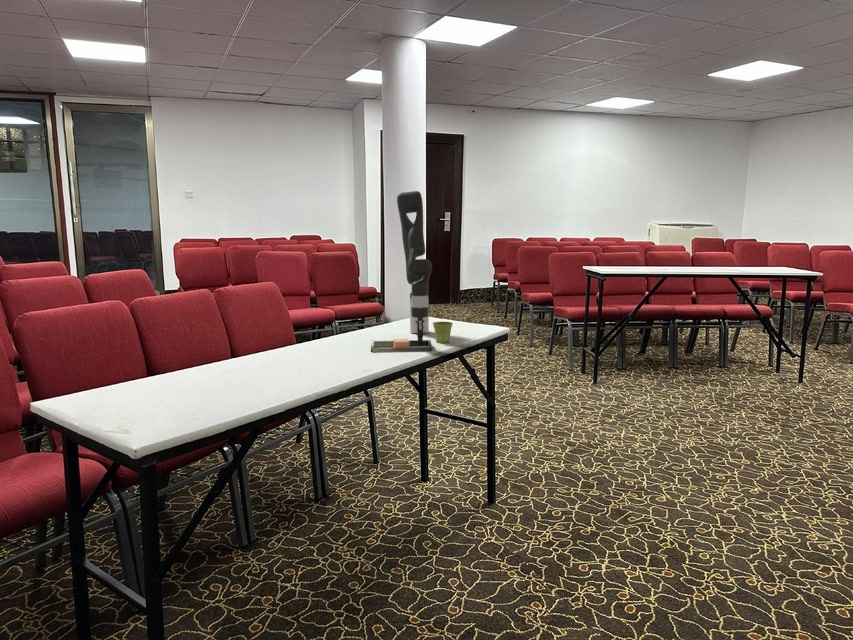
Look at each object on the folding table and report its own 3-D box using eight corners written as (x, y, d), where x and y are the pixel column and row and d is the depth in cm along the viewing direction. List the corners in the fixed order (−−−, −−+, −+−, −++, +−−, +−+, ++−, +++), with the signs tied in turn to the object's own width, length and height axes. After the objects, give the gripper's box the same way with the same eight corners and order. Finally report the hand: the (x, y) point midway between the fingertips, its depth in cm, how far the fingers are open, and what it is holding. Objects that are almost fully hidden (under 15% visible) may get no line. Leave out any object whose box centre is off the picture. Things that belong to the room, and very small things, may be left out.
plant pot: (453, 343, 264) (453, 324, 263) (432, 343, 264) (432, 324, 263) (452, 339, 274) (452, 321, 272) (432, 339, 274) (432, 321, 272)
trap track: (372, 346, 260) (372, 340, 259) (430, 345, 261) (430, 340, 260) (370, 352, 248) (370, 346, 248) (431, 351, 249) (431, 345, 249)
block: (393, 348, 257) (393, 339, 256) (407, 347, 258) (407, 338, 257) (394, 351, 251) (394, 342, 250) (409, 350, 252) (409, 341, 251)
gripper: (410, 303, 258) (411, 342, 261) (411, 307, 245) (411, 348, 248) (427, 303, 258) (428, 341, 261) (429, 307, 245) (429, 348, 248)
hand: (420, 345), depth 254 cm, fingers closed
